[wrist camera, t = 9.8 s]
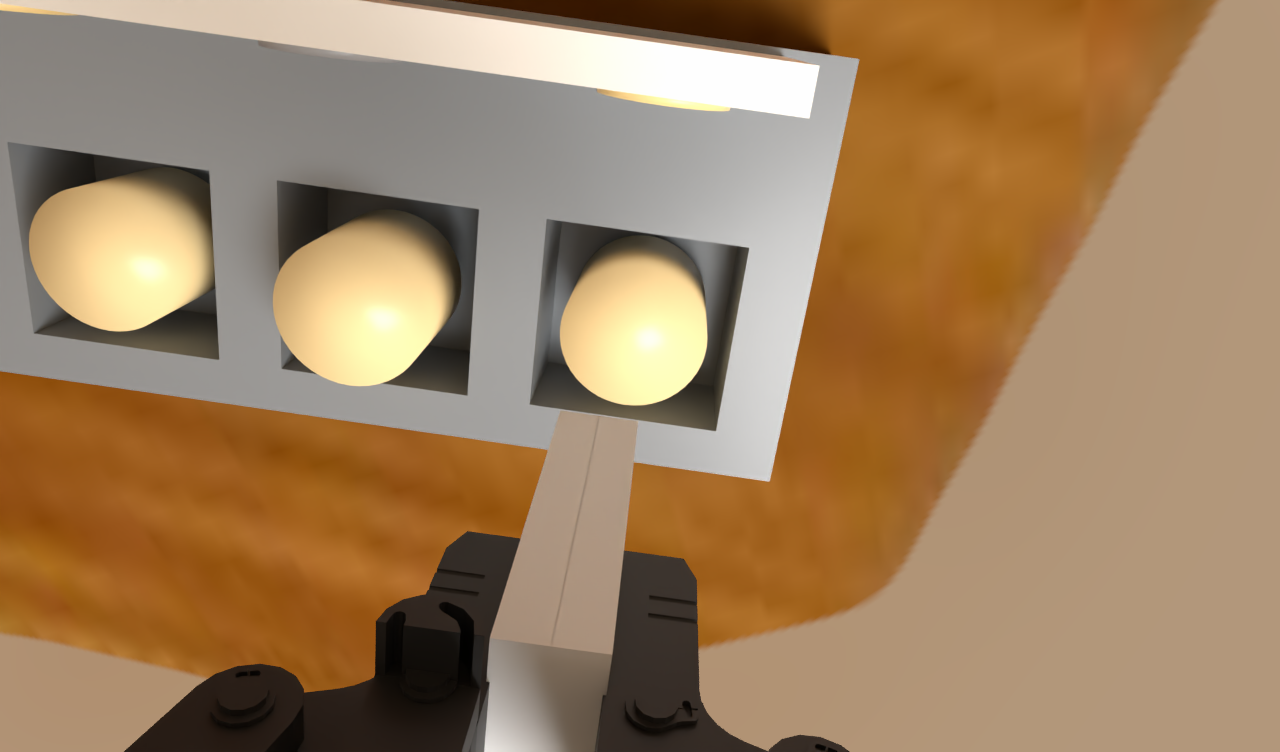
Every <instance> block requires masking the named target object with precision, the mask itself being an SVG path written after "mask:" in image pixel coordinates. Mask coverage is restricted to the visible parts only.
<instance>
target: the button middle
mask: <svg viewBox="0 0 1280 752" xmlns="http://www.w3.org/2000/svg"><path fill="white" fill-rule="evenodd" d="M461 288H462V278H461V271H460V266H459V263H458V260H457V257H456V255H455V253H454V251H453V249H452V247H451V246H450V244H449V243H448V241H447V240H446V239H445V237H444V236H443V235H442V234H441V233H440V232H439V231H438V230H437V229H436V228H435V227H433V226H432V225H431V224H429V223H428V222H426V221H425V220H423V219H421V218H419V217H417V216H415V215H413V214H410V213H407V212H403V211H398V210H389V209H386V210H376V211H371V212H368V213H365V214H362V215H360V216H358V217H356V218H354V219H352V220H351V221H349V222H347V223H345V224H343V225H341V226H340V227H338V228H336V229H334V230H332V231H331V232H329V233H327V234H325V235H323V236H321V237H320V238H318V239H316V240H314V241H312V242H311V243H309V244H307V245H305V246H303V247H302V248H300V249H299V250H297V251H296V252H295V253H294V254H293V255H292V256H291V257H290V258H289V259H288V260H287V261H286V262H285V264H284V265H283V266H282V268H281V270H280V272H279V274H278V276H277V279H276V282H275V286H274V291H273V311H274V317H275V321H276V324H277V327H278V330H279V332H280V334H281V336H282V338H283V340H284V342H285V343H286V345H287V346H288V348H289V349H290V351H291V352H292V353H293V354H294V355H295V357H296V358H297V359H298V360H299V361H301V362H302V363H303V364H304V365H305V366H306V367H308V368H309V369H310V370H312V371H313V372H315V373H316V374H318V375H320V376H322V377H324V378H326V379H328V380H331V381H334V382H337V383H340V384H345V385H350V386H371V385H376V384H380V383H384V382H387V381H389V380H391V379H393V378H395V377H397V376H398V375H400V374H401V373H403V372H404V371H405V370H406V369H407V368H408V367H409V366H410V365H411V364H412V363H413V362H414V361H415V359H416V358H417V357H418V356H419V355H420V353H421V352H422V351H423V350H424V349H425V348H426V346H427V345H428V344H429V343H430V342H431V340H432V339H433V338H434V337H435V336H436V335H437V333H438V332H439V331H440V330H441V329H442V327H443V326H444V325H445V324H446V323H447V322H448V320H449V319H450V318H451V317H452V315H453V313H454V312H455V310H456V308H457V305H458V303H459V299H460V295H461Z"/></svg>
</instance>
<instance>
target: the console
mask: <svg viewBox="0 0 1280 752" xmlns="http://www.w3.org/2000/svg"><path fill="white" fill-rule="evenodd" d="M858 63H859V59H855V58H849V57H842V56H836V55H829V54H822V53H815V52H808V51H801V50H794V49H787V48H780V47H773V46H766V45H759V44H752V43H745V42H738V41H731V40H724V39H717V38H710V37H703V36H696V35H689V34H681V33H674V32H667V31H660V30H653V29H646V28H639V27H632V26H625V25H618V24H611V23H604V22H597V21H590V20H583V19H576V18H569V17H562V16H555V15H548V14H541V13H534V12H526V11H519V10H512V9H505V8H498V7H491V6H484V5H477V4H470V3H463V2H456V1H449V0H0V371H4V372H11V373H18V374H25V375H32V376H39V377H46V378H53V379H60V380H67V381H73V382H80V383H87V384H94V385H101V386H108V387H115V388H122V389H129V390H136V391H143V392H150V393H157V394H164V395H171V396H178V397H185V398H192V399H199V400H206V401H213V402H220V403H227V404H234V405H241V406H248V407H255V408H261V409H268V410H275V411H282V412H289V413H296V414H303V415H310V416H317V417H324V418H331V419H338V420H345V421H352V422H359V423H366V424H373V425H380V426H387V427H394V428H401V429H408V430H415V431H422V432H429V433H436V434H443V435H449V436H456V437H463V438H470V439H477V440H484V441H491V442H498V443H505V444H512V445H519V446H526V447H533V448H540V449H547V450H548V449H549V446H550V443H551V439H552V436H553V433H554V430H555V426H556V423H557V420H558V417H559V414H560V410H561V411H568V412H576V413H583V414H590V415H597V416H605V417H612V418H619V419H626V420H634V421H638V428H637V437H636V446H635V455H634V462H637V463H644V464H651V465H658V466H665V467H672V468H679V469H686V470H693V471H700V472H707V473H714V474H721V475H728V476H735V477H742V478H749V479H756V480H763V481H770V477H771V472H772V467H773V463H774V458H775V453H776V448H777V444H778V439H779V434H780V430H781V425H782V420H783V416H784V411H785V406H786V401H787V397H788V392H789V387H790V383H791V378H792V373H793V369H794V364H795V359H796V354H797V350H798V345H799V340H800V336H801V331H802V326H803V322H804V317H805V312H806V307H807V303H808V298H809V293H810V289H811V284H812V279H813V275H814V270H815V265H816V260H817V256H818V251H819V246H820V242H821V237H822V232H823V227H824V223H825V218H826V213H827V209H828V204H829V199H830V195H831V190H832V185H833V180H834V176H835V171H836V166H837V162H838V157H839V152H840V148H841V143H842V138H843V133H844V129H845V124H846V119H847V115H848V110H849V105H850V101H851V96H852V91H853V86H854V82H855V77H856V72H857V68H858ZM157 167H168V168H175V169H180V170H183V171H186V172H189V173H191V174H193V175H195V176H197V177H199V178H201V179H202V180H204V181H205V182H207V183H208V184H209V185H210V194H211V212H212V231H213V250H214V268H215V287H216V289H214V290H212V291H210V292H208V293H206V294H204V295H203V296H201V297H199V298H197V299H195V300H193V301H191V302H189V303H188V304H186V305H184V306H182V307H180V308H178V309H176V310H175V311H173V312H171V313H169V314H167V315H165V316H163V317H162V318H160V319H158V320H156V321H154V322H152V323H150V324H148V325H146V326H145V327H142V328H139V329H136V330H131V331H108V330H103V329H99V328H96V327H93V326H90V325H88V324H86V323H84V322H81V321H80V320H78V319H76V318H75V317H73V316H71V315H70V314H69V313H67V312H66V311H65V310H64V309H62V308H61V307H60V306H59V305H58V304H57V303H56V302H55V301H54V300H53V299H52V298H51V297H50V295H49V294H48V293H47V291H46V290H45V289H44V287H43V286H42V284H41V282H40V281H39V279H38V277H37V274H36V272H35V270H34V267H33V264H32V261H31V256H30V251H29V232H30V228H31V224H32V221H33V219H34V216H35V214H36V213H37V211H38V209H39V208H40V207H41V206H42V204H43V203H44V202H45V201H46V200H48V199H49V198H50V197H52V196H53V195H55V194H57V193H59V192H61V191H64V190H66V189H70V188H74V187H78V186H82V185H86V184H90V183H94V182H98V181H102V180H106V179H110V178H114V177H118V176H122V175H126V174H130V173H134V172H138V171H142V170H146V169H151V168H157ZM386 209H389V210H398V211H403V212H407V213H410V214H413V215H415V216H417V217H419V218H421V219H423V220H425V221H426V222H428V223H429V224H431V225H432V226H433V227H435V228H436V229H437V230H438V231H439V232H440V233H441V234H442V235H443V236H444V237H445V239H446V240H447V241H448V243H449V244H450V246H451V247H452V249H453V251H454V253H455V255H456V257H457V260H458V263H459V266H460V271H461V278H462V288H461V295H460V299H459V303H458V305H457V308H456V310H455V312H454V313H453V315H452V317H451V318H450V319H449V320H448V322H447V323H446V324H445V325H444V326H443V327H442V329H441V330H440V331H439V332H438V333H437V335H436V336H435V337H434V338H433V339H432V340H431V342H430V343H429V344H428V345H427V346H426V348H425V349H424V350H423V351H422V352H421V353H420V355H419V356H418V357H417V358H416V359H415V361H414V362H413V363H412V364H411V365H410V366H409V367H408V368H407V369H406V370H405V371H404V372H403V373H401V374H400V375H398V376H397V377H395V378H393V379H391V380H389V381H387V382H384V383H380V384H376V385H371V386H350V385H345V384H340V383H337V382H334V381H331V380H328V379H326V378H324V377H322V376H320V375H318V374H316V373H315V372H313V371H312V370H310V369H309V368H308V367H306V366H305V365H304V364H303V363H302V362H301V361H299V360H298V359H297V358H296V357H295V355H294V354H293V353H292V352H291V351H290V349H289V348H288V346H287V345H286V343H285V342H284V340H283V338H282V336H281V334H280V332H279V330H278V327H277V324H276V321H275V317H274V311H273V291H274V286H275V282H276V279H277V276H278V274H279V272H280V270H281V268H282V266H283V265H284V264H285V262H286V261H287V260H288V259H289V258H290V257H291V256H292V255H293V254H294V253H295V252H296V251H297V250H299V249H300V248H302V247H303V246H305V245H307V244H309V243H311V242H312V241H314V240H316V239H318V238H320V237H321V236H323V235H325V234H327V233H329V232H331V231H332V230H334V229H336V228H338V227H340V226H341V225H343V224H345V223H347V222H349V221H351V220H352V219H354V218H356V217H358V216H360V215H362V214H365V213H368V212H371V211H376V210H386ZM637 235H643V236H652V237H657V238H660V239H663V240H666V241H668V242H670V243H672V244H674V245H675V246H677V247H678V248H680V249H681V250H682V251H683V252H684V253H686V254H687V255H688V256H689V258H690V259H691V260H692V261H693V262H694V264H695V265H696V267H697V268H698V271H699V273H700V275H701V277H702V280H703V283H704V288H705V299H706V319H707V348H706V352H705V356H704V359H703V362H702V364H701V366H700V368H699V370H698V372H697V373H696V375H695V376H694V377H693V379H692V380H691V381H690V382H689V383H688V384H687V385H686V386H685V387H684V388H683V389H682V390H680V391H679V392H678V393H676V394H674V395H673V396H671V397H669V398H667V399H665V400H662V401H659V402H656V403H652V404H647V405H623V404H618V403H614V402H611V401H608V400H605V399H603V398H601V397H599V396H597V395H596V394H594V393H592V392H591V391H589V390H588V389H587V388H586V387H584V386H583V385H582V384H581V383H580V382H579V381H578V380H577V379H576V377H575V376H574V375H573V373H572V372H571V370H570V369H569V367H568V365H567V363H566V361H565V358H564V356H563V352H562V348H561V343H560V325H561V319H562V316H563V312H564V309H565V307H566V305H567V303H568V301H569V299H570V296H571V294H572V292H573V290H574V288H575V286H576V283H577V281H578V279H579V277H580V275H581V273H582V271H583V268H584V267H585V265H586V264H587V262H588V260H589V259H590V258H591V257H592V256H593V255H594V254H595V253H596V252H597V251H598V250H599V249H600V248H602V247H603V246H605V245H606V244H608V243H610V242H612V241H614V240H617V239H620V238H623V237H628V236H637Z"/></svg>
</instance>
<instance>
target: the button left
mask: <svg viewBox="0 0 1280 752" xmlns="http://www.w3.org/2000/svg"><path fill="white" fill-rule="evenodd" d="M29 251H30V256H31V261H32V264H33V267H34V270H35V272H36V274H37V277H38V279H39V281H40V282H41V284H42V286H43V287H44V289H45V290H46V291H47V293H48V294H49V295H50V297H51V298H52V299H53V300H54V301H55V302H56V303H57V304H58V305H59V306H60V307H61V308H62V309H64V310H65V311H66V312H67V313H69V314H70V315H71V316H73V317H75V318H76V319H78V320H80V321H81V322H84V323H86V324H88V325H90V326H93V327H96V328H99V329H103V330H108V331H131V330H136V329H139V328H142V327H145V326H146V325H148V324H150V323H152V322H154V321H156V320H158V319H160V318H162V317H163V316H165V315H167V314H169V313H171V312H173V311H175V310H176V309H178V308H180V307H182V306H184V305H186V304H188V303H189V302H191V301H193V300H195V299H197V298H199V297H201V296H203V295H204V294H206V293H208V292H210V291H212V290H214V289H216V287H215V268H214V250H213V231H212V212H211V194H210V185H209V184H208V183H207V182H205V181H204V180H202V179H201V178H199V177H197V176H195V175H193V174H191V173H189V172H186V171H183V170H180V169H175V168H168V167H157V168H151V169H146V170H142V171H138V172H134V173H130V174H126V175H122V176H118V177H114V178H110V179H106V180H102V181H98V182H94V183H90V184H86V185H82V186H78V187H74V188H70V189H66V190H64V191H61V192H59V193H57V194H55V195H53V196H52V197H50V198H49V199H48V200H46V201H45V202H44V203H43V204H42V206H41V207H40V208H39V209H38V211H37V213H36V214H35V216H34V219H33V221H32V224H31V228H30V232H29Z"/></svg>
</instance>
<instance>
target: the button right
mask: <svg viewBox="0 0 1280 752" xmlns="http://www.w3.org/2000/svg"><path fill="white" fill-rule="evenodd" d="M560 343H561V348H562V352H563V356H564V358H565V361H566V363H567V365H568V367H569V369H570V370H571V372H572V373H573V375H574V376H575V377H576V379H577V380H578V381H579V382H580V383H581V384H582V385H583V386H584V387H586V388H587V389H588V390H589V391H591V392H592V393H594V394H596V395H597V396H599V397H601V398H603V399H605V400H608V401H611V402H614V403H618V404H623V405H647V404H652V403H656V402H659V401H662V400H665V399H667V398H669V397H671V396H673V395H674V394H676V393H678V392H679V391H680V390H682V389H683V388H684V387H685V386H686V385H687V384H688V383H689V382H690V381H691V380H692V379H693V377H694V376H695V375H696V373H697V372H698V370H699V368H700V366H701V364H702V362H703V359H704V356H705V352H706V348H707V319H706V299H705V288H704V283H703V280H702V277H701V275H700V273H699V271H698V268H697V267H696V265H695V264H694V262H693V261H692V260H691V259H690V258H689V256H688V255H687V254H686V253H684V252H683V251H682V250H681V249H680V248H678V247H677V246H675V245H674V244H672V243H670V242H668V241H666V240H663V239H660V238H657V237H652V236H643V235H637V236H628V237H623V238H620V239H617V240H614V241H612V242H610V243H608V244H606V245H605V246H603V247H602V248H600V249H599V250H598V251H597V252H596V253H595V254H594V255H593V256H592V257H591V258H590V259H589V260H588V262H587V264H586V265H585V267H584V268H583V271H582V273H581V275H580V277H579V279H578V281H577V283H576V286H575V288H574V290H573V292H572V294H571V296H570V299H569V301H568V303H567V305H566V307H565V309H564V312H563V316H562V319H561V325H560Z"/></svg>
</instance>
